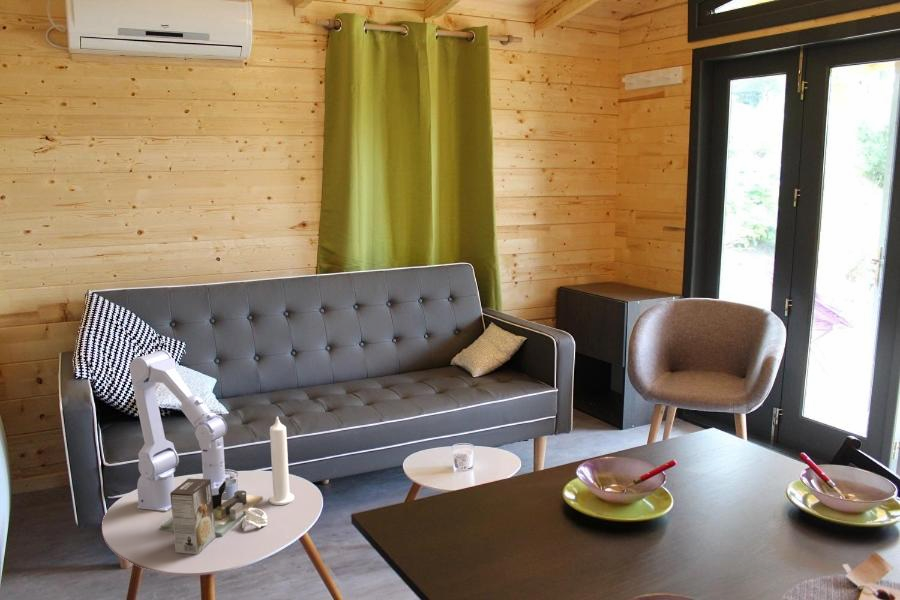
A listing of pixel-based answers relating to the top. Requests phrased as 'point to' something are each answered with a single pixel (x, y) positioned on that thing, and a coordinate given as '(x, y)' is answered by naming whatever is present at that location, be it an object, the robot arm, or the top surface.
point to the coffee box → (192, 515)
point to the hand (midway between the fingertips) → (216, 509)
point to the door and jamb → (228, 521)
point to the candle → (279, 465)
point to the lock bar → (230, 504)
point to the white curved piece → (254, 518)
